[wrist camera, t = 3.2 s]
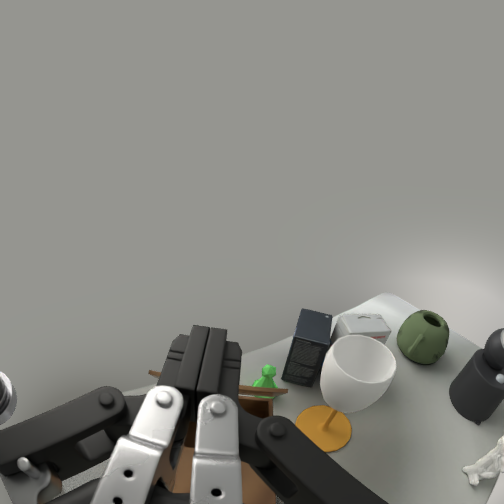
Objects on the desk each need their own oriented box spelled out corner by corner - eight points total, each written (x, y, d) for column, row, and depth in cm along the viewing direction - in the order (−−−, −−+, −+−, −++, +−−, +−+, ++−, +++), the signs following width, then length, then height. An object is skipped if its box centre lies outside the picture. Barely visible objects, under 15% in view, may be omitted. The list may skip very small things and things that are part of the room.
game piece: (278, 401, 39) (286, 378, 37) (251, 400, 39) (256, 376, 36) (276, 381, 43) (283, 357, 41) (250, 380, 43) (255, 356, 40)
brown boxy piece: (147, 519, 18) (129, 505, 14) (171, 417, 33) (165, 380, 30) (260, 535, 18) (276, 526, 14) (261, 430, 34) (273, 394, 30)
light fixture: (505, 361, 25) (481, 314, 38) (454, 424, 32) (444, 374, 44) (545, 367, 22) (520, 324, 34) (498, 425, 28) (485, 380, 41)
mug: (406, 325, 61) (419, 297, 57) (445, 350, 52) (461, 321, 48) (377, 353, 51) (393, 320, 48) (424, 384, 42) (445, 353, 39)
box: (289, 351, 50) (301, 307, 46) (317, 358, 49) (333, 315, 45) (279, 380, 43) (293, 334, 39) (311, 388, 42) (330, 344, 38)
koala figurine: (453, 472, 23) (501, 431, 18) (471, 451, 25) (514, 408, 20) (477, 499, 16) (530, 461, 11) (493, 475, 18) (540, 435, 13)
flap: (148, 373, 23) (149, 369, 23) (166, 382, 30) (166, 379, 30) (287, 393, 23) (288, 388, 23) (273, 397, 30) (273, 394, 30)
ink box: (327, 382, 43) (349, 332, 39) (319, 362, 48) (338, 312, 43) (367, 377, 45) (393, 329, 40) (358, 359, 49) (380, 312, 44)
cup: (295, 403, 39) (325, 328, 32) (348, 407, 38) (389, 335, 32) (293, 450, 31) (331, 383, 24) (353, 452, 30) (408, 386, 24)
